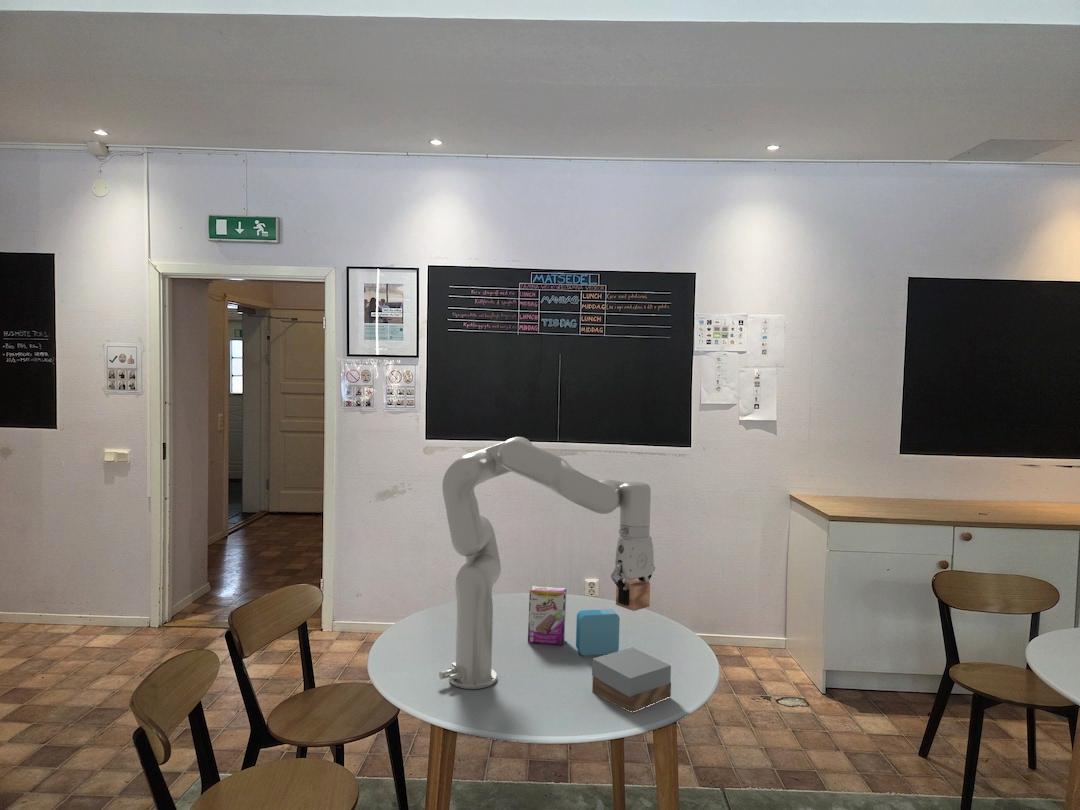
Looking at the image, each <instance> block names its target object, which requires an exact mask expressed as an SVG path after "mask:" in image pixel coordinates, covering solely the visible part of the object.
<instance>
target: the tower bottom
mask: <svg viewBox="0 0 1080 810" xmlns="http://www.w3.org/2000/svg"><path fill="white" fill-rule="evenodd" d="M591 691H592V693H593V694H595V695H596V694H597V695H596V696H598V695H599V696H598V697H600V696H601V697H600V698H602V697H603V699H604V698H605V699H604V700H606V699H607V700H606V701H608V700H609V701H608V702H610V701H611V702H613V703H615V704H617V705H619V706H621V707H623V708H625V709H627V710H629V711H632V712H633V711H636V710H639V709H641V708H643V707H646V706H648V705H650V704H653V703H656V702H658V701H660V700H663V699H665V698H667V697H670V696H671V695H672V681H670V684H667V685H664V686H661V687H658V688H655V689H652V690H649V691H646V692H643V693H640V694H637V695H634V696H631V697H629V696H627V695H625V694H623V693H622V692H620V691H618V690H616V689H615V688H613V687H611V686H609V685H607V684H606V683H604V682H602V681H600V680H599V679H597V678H595V677H593V676H592V690H591ZM671 697H672V696H671ZM611 702H610V703H611ZM613 703H612V704H613ZM615 704H614V705H615ZM617 705H616V706H617ZM619 706H618V707H619ZM621 707H620V708H621ZM623 708H622V709H623ZM625 709H624V710H625Z"/></svg>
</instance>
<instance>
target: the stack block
mask: <svg viewBox="0 0 1080 810" xmlns="http://www.w3.org/2000/svg"><path fill="white" fill-rule="evenodd" d="M624 582H625V579H623V583H624ZM615 586H616V587H615V588H616V592H615V593H616V594H615V605H616V606H619V607H621V608H624V609H626V610H630V611H632V612H635V611H639V610H643V609H646V608H650V604H651V603H650V602H651V601H650V600H651V582H649V583H648V582H645V581H642V580H639V579H638V578H637V579H632V580H630V582H629V586H628V590H629V605H628V606H625V605H622V604H620V603H618V591H619V588H617V585H616V584H615Z"/></svg>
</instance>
